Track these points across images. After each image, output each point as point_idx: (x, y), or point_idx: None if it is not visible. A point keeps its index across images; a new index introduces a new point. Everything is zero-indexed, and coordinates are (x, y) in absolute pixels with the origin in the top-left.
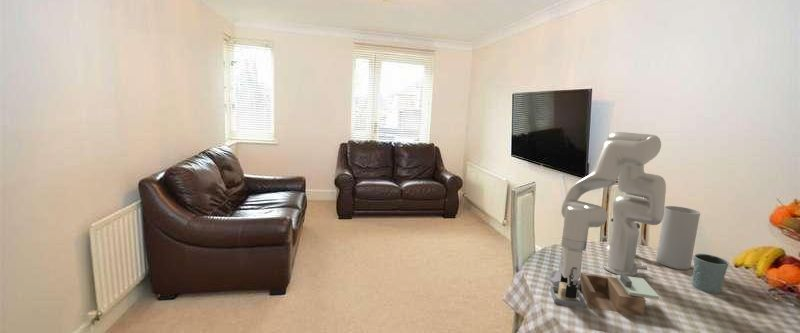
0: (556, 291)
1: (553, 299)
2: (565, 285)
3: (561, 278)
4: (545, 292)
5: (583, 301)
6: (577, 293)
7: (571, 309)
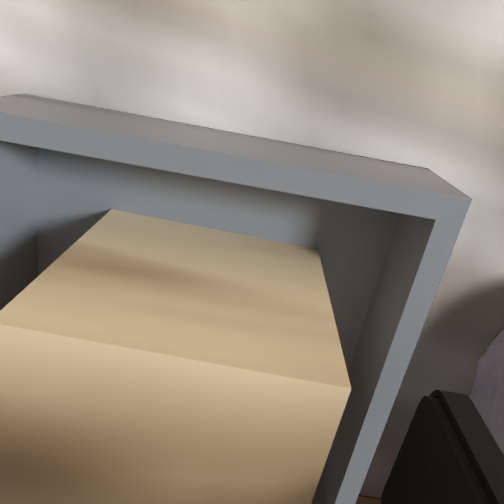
0: (392, 259)
1: (87, 114)
2: (161, 441)
3: (485, 484)
4: (429, 94)
5: None
6: (323, 486)
7: None
